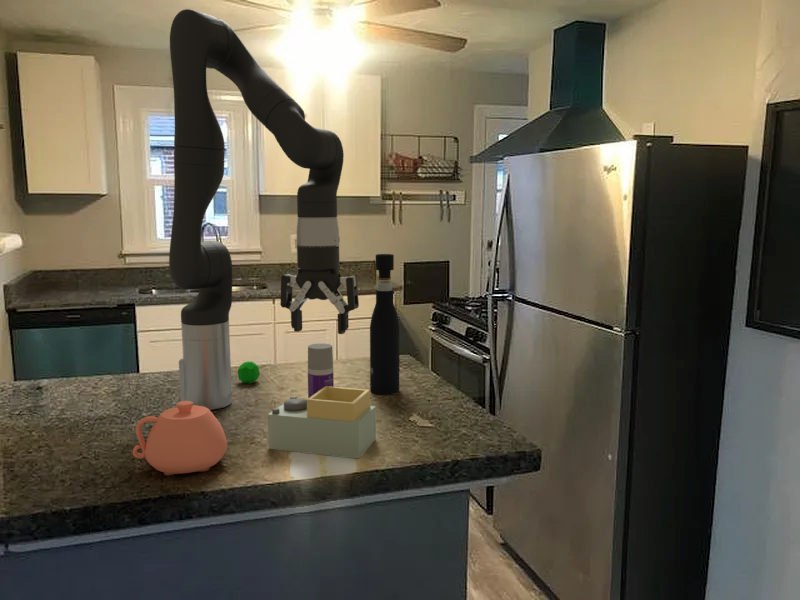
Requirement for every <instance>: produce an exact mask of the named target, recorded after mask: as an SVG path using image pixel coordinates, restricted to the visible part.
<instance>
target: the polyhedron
mask: <svg viewBox="0 0 800 600" xmlns="http://www.w3.org/2000/svg"><path fill="white" fill-rule="evenodd" d="M260 373H261V372H260V368H259V365H258V364H256V363H255V362H253V361H244V362H243V363H242V364H240V365H239V366H238V369H237V375H238V379H239V380H240V382H242V383H244V384H252V383H254V382H256V381H257V380H258V379H259V377H260Z"/></svg>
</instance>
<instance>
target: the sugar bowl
mask: <svg viewBox="0 0 800 600" xmlns="http://www.w3.org/2000/svg"><path fill="white" fill-rule="evenodd" d="M149 422H151V423H153V422H154V423H153V425H152V428H151V429H150V431H149V433H148V435H147V439H146V441H145V439H144V436H143V432H142V427H143V425H144V424H146V423H149ZM135 433H136V437H137V440H138V442H139V444H138V445H135V446H134V447H133V449H132V454H133V456H134V457H135V458H136V459H145V460H146V461H147V463H148V464H149V465H151V466H152V467H153V468H154V469H155V470H157V471H158V472H162V473H163V474H164V475H165V476H174V475H175V474H176V475H178V474H189V473H196V472H199V473H200V472H207V471H210V469H211V467H213V466H215V465H216V464H217V463H219V461H220V460H221V459H222V458H223V457H224V456H225V454H226V451H227V449H228V442H227V436H226V433H225V431H224V428H223V426H222V425H221V423H220V421H219V420H218V419H217V417H216V416H215V415H214V414H213V412H212V411H211V410H209V409H208V408H206V407H204V406H198V405H193V402H191V401H181V400H180V401H179V402H177V403H176V406H175V407H174V406H173V407H170V408H168V409H166V410H163V411H162V412H161V413H160V414H159V416H158V417H157V416H154V415H148V416H145V417H143V418H141V419H139V421H137V422H136V426H135ZM139 449H141V452H138V450H139Z"/></svg>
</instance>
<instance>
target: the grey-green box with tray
mask: <svg viewBox="0 0 800 600" xmlns="http://www.w3.org/2000/svg"><path fill="white" fill-rule="evenodd" d="M376 408H377V407H376V406H375V405H371V391H370V389H365V388H354V387H353V388H352V387H342V386H341V387H339V386H334V387H330V386H325V387H324V388H322V389H321V390H319V391H318V392H317V393H315V394H314V395H312V396H311V397H310V398H308V397H307V399H304V398H298V397H297V396H290V397H289V399H287V400H284V401H283V404H281V405H279V406H278V407H276V408H272V410H271V411H270V412H269V413H267V431H268V432H267V436H268V449H269V450H277V451H285V452H286V451H288V452H293V453H294V452H296V453H305V454H312V455H313V454H314V455H323V456H333V457H341V458H350V459H360V458H362V456H363V455H364V454H365V453H366V451H367V450H368V449H369V448H370V447H371V446H372V444H373V443H374V442H375V441H376V438H377V437H376V436H377V434H376V433H377V430H376V428H377V427H376V424H377V423H376V422H377V421H376V418H377V417H376V415H377V413H376V412H377V411H376Z"/></svg>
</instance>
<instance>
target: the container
mask: <svg viewBox="0 0 800 600" xmlns="http://www.w3.org/2000/svg"><path fill="white" fill-rule="evenodd" d="M333 355H334V354H333V345H332V344H330V343H313V344H309V345H308V346H307V393H308V394H307V399H308V398H310V397H311V396H312V395H314V394H315V393H317V392H318V391H319V390H321V389H322V388H324V387H325V386H330V387H335V386H334V356H333Z"/></svg>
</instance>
